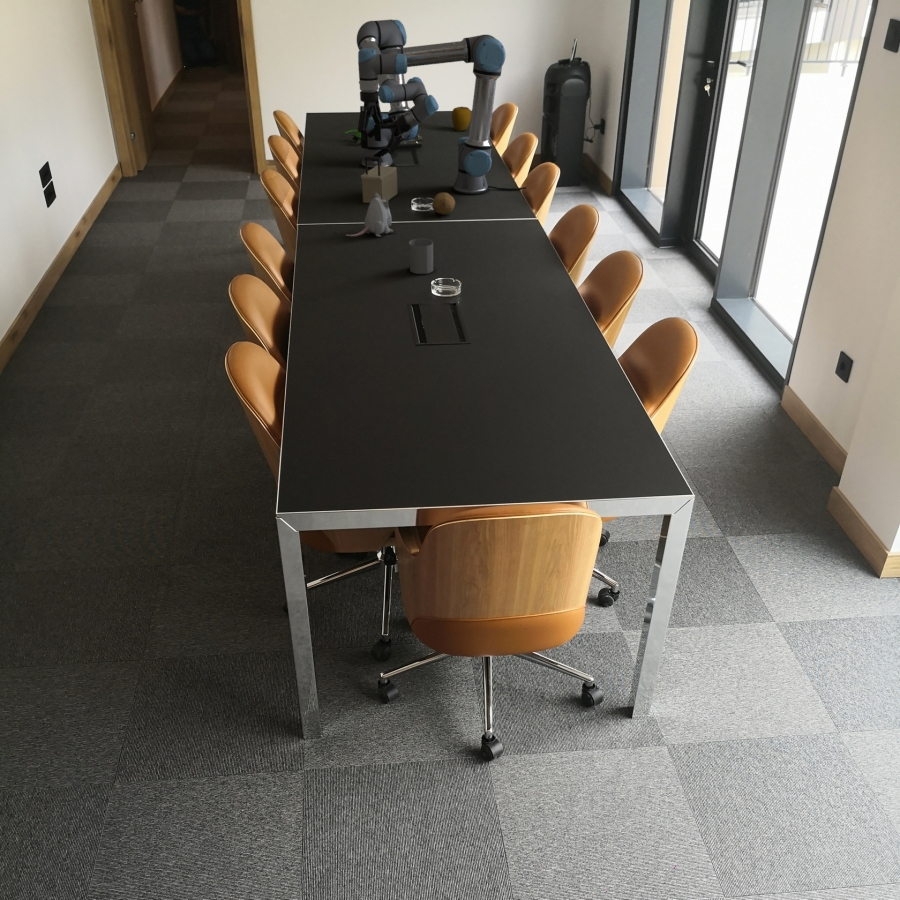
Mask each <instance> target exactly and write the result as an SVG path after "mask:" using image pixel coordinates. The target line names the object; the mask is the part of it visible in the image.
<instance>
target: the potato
mask: <svg viewBox="0 0 900 900" xmlns="http://www.w3.org/2000/svg"><path fill="white" fill-rule="evenodd" d="M455 206H456V200H455V198H454V196H452V195H451V194H449V193H448V192H439V193H437V194H436V195H435V197H434V198H433V200H432V201H431V207H432V209H433V210H434V212H436V213H437V214H439V215H441V216H442V215H449V214H450V213H452V212H453V211H454V209H455Z"/></svg>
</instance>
